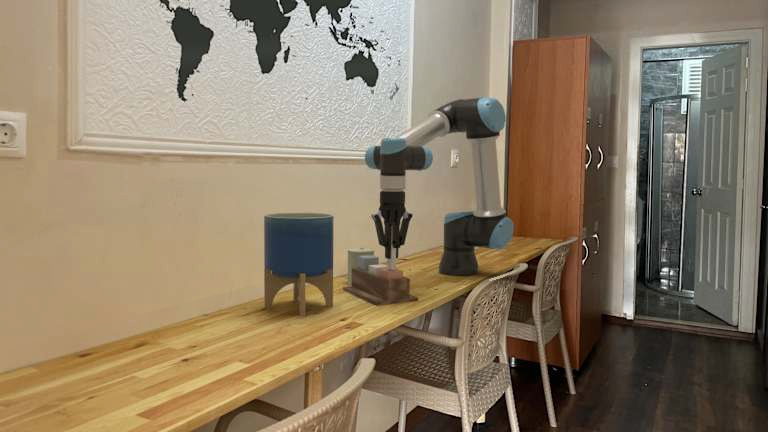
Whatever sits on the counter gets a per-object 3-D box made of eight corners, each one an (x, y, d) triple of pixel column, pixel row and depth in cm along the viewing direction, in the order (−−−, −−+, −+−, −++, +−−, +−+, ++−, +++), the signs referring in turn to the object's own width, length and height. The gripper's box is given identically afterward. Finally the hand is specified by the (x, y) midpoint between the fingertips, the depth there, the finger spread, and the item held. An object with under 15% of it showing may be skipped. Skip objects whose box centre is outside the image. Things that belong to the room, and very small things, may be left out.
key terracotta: (394, 289, 188) (395, 268, 187) (402, 292, 183) (402, 270, 183) (380, 290, 185) (380, 269, 185) (387, 293, 181) (388, 271, 180)
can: (375, 281, 215) (375, 246, 214) (372, 286, 206) (372, 250, 205) (349, 280, 216) (349, 246, 215) (345, 285, 206) (345, 249, 205)
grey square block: (371, 274, 202) (371, 255, 201) (378, 277, 197) (378, 257, 197) (357, 275, 199) (357, 256, 199) (364, 278, 195) (364, 258, 194)
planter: (327, 298, 186) (328, 211, 184) (338, 314, 167) (338, 217, 165) (262, 301, 181) (262, 212, 179) (266, 317, 163) (265, 218, 160)
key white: (382, 284, 195) (382, 264, 194) (390, 287, 190) (390, 266, 190) (368, 285, 192) (368, 265, 192) (375, 288, 188) (375, 267, 187)
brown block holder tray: (381, 286, 205) (381, 265, 205) (418, 301, 184) (418, 277, 183) (343, 289, 199) (343, 268, 198) (376, 305, 178) (376, 281, 177)
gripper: (405, 189, 188) (404, 266, 190) (367, 190, 182) (366, 268, 184) (418, 190, 181) (416, 269, 183) (378, 191, 175) (377, 272, 177)
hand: (391, 269), depth 184 cm, fingers closed
